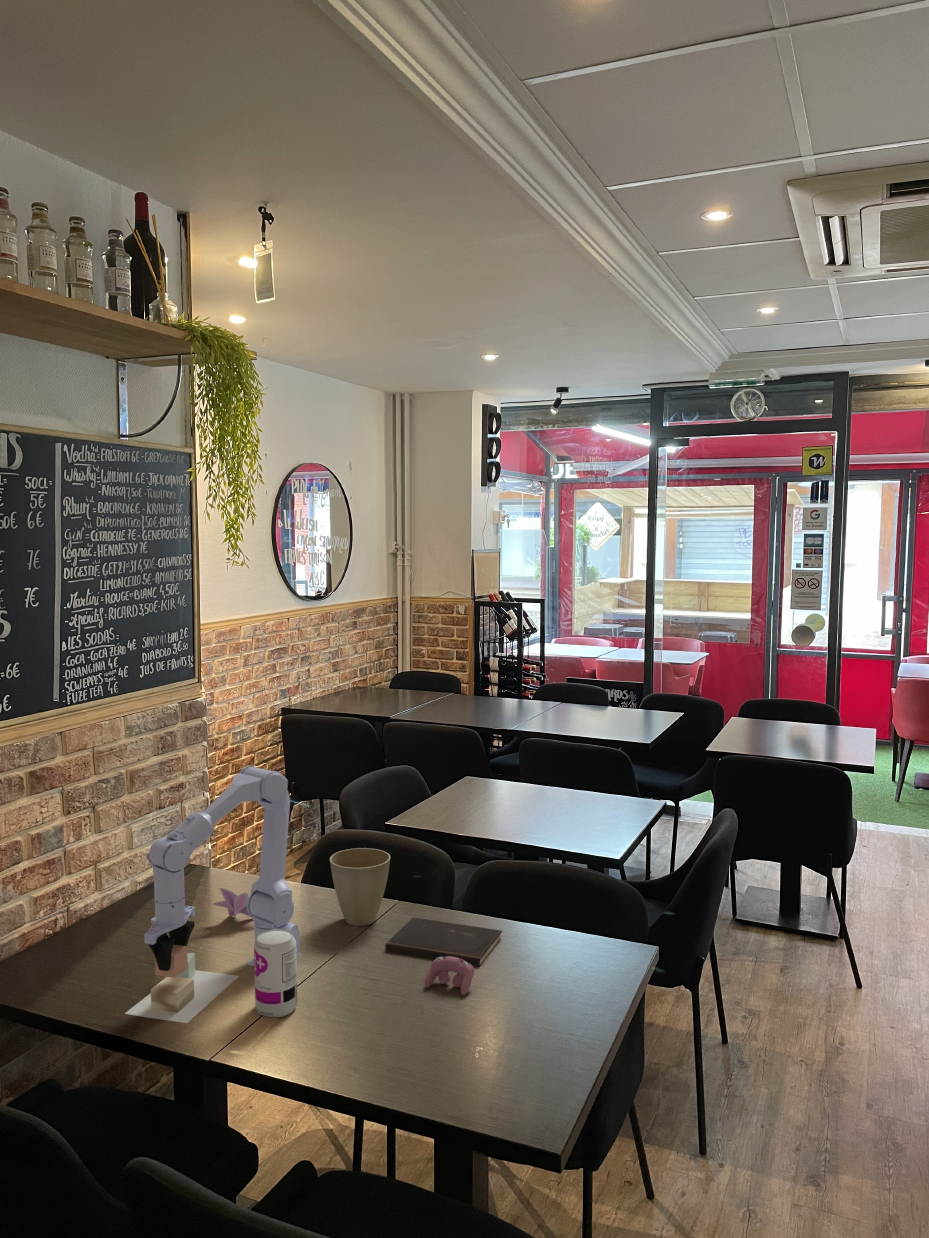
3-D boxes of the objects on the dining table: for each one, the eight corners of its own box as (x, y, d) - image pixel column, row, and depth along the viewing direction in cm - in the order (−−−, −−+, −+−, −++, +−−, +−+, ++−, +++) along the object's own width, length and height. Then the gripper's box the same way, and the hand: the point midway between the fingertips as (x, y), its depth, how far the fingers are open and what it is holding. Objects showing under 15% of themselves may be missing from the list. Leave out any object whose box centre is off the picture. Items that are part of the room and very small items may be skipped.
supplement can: (261, 1023, 174) (260, 948, 173) (251, 1004, 182) (249, 932, 181) (302, 1013, 178) (301, 940, 177) (290, 995, 185) (289, 924, 184)
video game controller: (472, 996, 188) (478, 961, 190) (464, 996, 184) (470, 960, 186) (430, 987, 192) (436, 953, 194) (421, 986, 188) (428, 951, 190)
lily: (271, 929, 220) (272, 889, 224) (235, 926, 211) (237, 884, 215) (236, 934, 226) (238, 895, 230) (200, 932, 217) (203, 891, 221)
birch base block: (194, 998, 184) (193, 979, 183) (177, 1012, 178) (177, 993, 178) (168, 994, 185) (168, 975, 185) (151, 1008, 180) (150, 989, 179)
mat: (239, 977, 193) (239, 975, 193) (186, 1024, 174) (186, 1022, 174) (182, 969, 197) (182, 968, 197) (124, 1015, 178) (124, 1013, 178)
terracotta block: (187, 967, 183) (187, 946, 182) (175, 977, 178) (174, 955, 178) (168, 965, 184) (167, 943, 184) (155, 975, 180) (154, 953, 179)
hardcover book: (413, 926, 221) (413, 916, 220) (502, 939, 213) (502, 930, 212) (385, 953, 206) (384, 943, 206) (479, 969, 198) (479, 959, 198)
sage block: (195, 973, 195) (194, 952, 194) (188, 982, 190) (188, 962, 190) (174, 973, 195) (174, 952, 194) (167, 982, 190) (167, 962, 190)
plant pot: (371, 937, 213) (370, 871, 212) (319, 926, 220) (317, 862, 218) (402, 913, 227) (401, 852, 225) (352, 904, 233) (351, 844, 232)
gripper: (173, 883, 188) (175, 946, 189) (129, 910, 174) (132, 978, 175) (203, 886, 186) (204, 950, 187) (161, 913, 172) (163, 982, 173)
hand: (171, 964), depth 181 cm, fingers closed on terracotta block, 4 cm apart
